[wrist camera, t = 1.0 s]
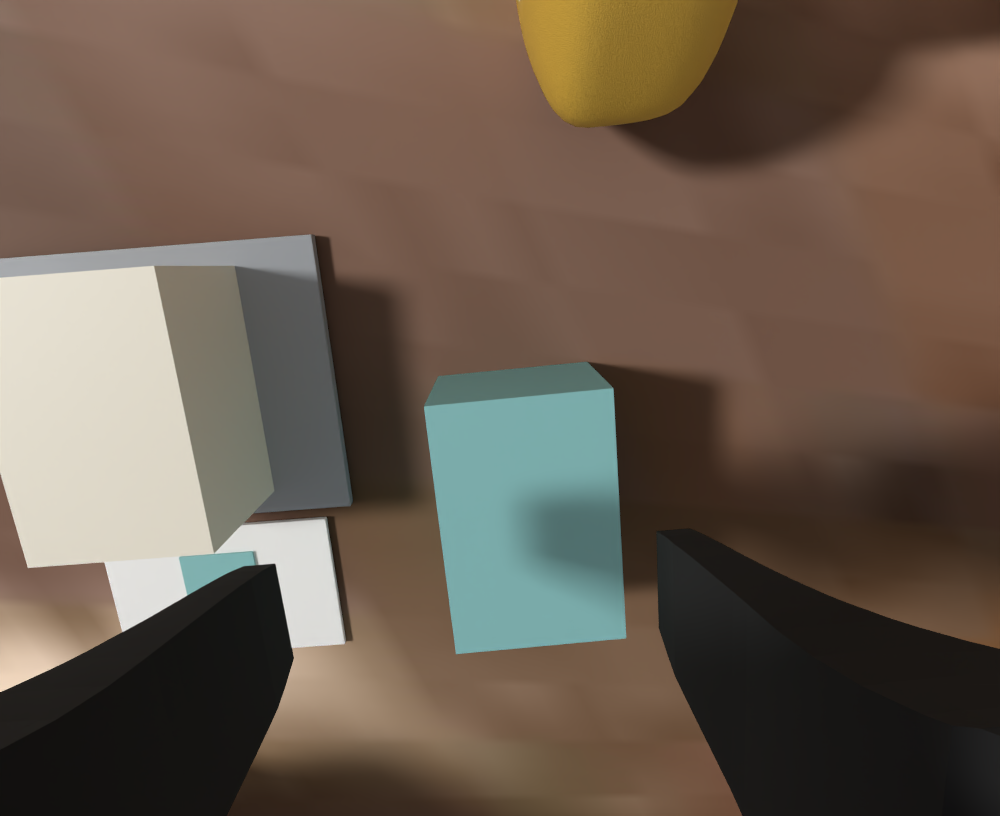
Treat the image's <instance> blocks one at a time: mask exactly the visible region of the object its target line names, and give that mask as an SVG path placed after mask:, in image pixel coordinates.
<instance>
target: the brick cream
mask: <svg viewBox="0 0 1000 816" xmlns="http://www.w3.org/2000/svg"><path fill="white" fill-rule="evenodd" d="M0 474H1V477H2V480H3V484H4V487H5V491H6V494H7V498H8V501H9V504H10V508H11V511H12V515H13V518H14V522H15V525H16V528H17V532H18V535H19V539H20V542H21V545H22V549H23V552H24V556H25V559H26V563H27V566H28V568H32V567H45V566H58V565H72V564H85V563H98V562H111V561H125V560H138V559H151V558H164V557H177V556H191V555H204V554H214V553H215V552H216V551H217V550H218V549H219V548H220V547H221V546H222V545H223V544H224V543H225V542H226V541H227V540H228V539H229V538H230V537H231V536H232V535H233V533H234V532H235V531H236V530H237V529H238V528H239V527H240V526H241V525H242V524H243V523H244V522H245V521H246V520H247V519H248V518H249V517H250V516H251V515H252V514H253V513H254V512H255V511H256V510H257V509H258V508H259V507H260V505H261V504H262V503H263V502H264V501H265V500H266V499H267V498H268V497H269V496H270V495H271V494H272V493H273V492H274V485H273V480H272V474H271V468H270V463H269V457H268V452H267V446H266V440H265V435H264V429H263V423H262V418H261V412H260V406H259V401H258V395H257V389H256V384H255V378H254V372H253V367H252V361H251V355H250V350H249V344H248V339H247V333H246V327H245V322H244V316H243V310H242V305H241V299H240V293H239V288H238V282H237V276H236V271H235V266H144V267H132V268H119V269H106V270H93V271H80V272H67V273H54V274H41V275H29V276H16V277H3V278H0Z"/></svg>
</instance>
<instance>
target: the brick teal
mask: <svg viewBox="0 0 1000 816" xmlns="http://www.w3.org/2000/svg"><path fill="white" fill-rule="evenodd" d="M424 411H425V418H426V426H427V434H428V441H429V449H430V457H431V465H432V472H433V480H434V488H435V495H436V503H437V511H438V518H439V526H440V534H441V542H442V549H443V557H444V565H445V572H446V580H447V588H448V595H449V603H450V611H451V618H452V626H453V634H454V642H455V649H456V654H462V653H472V652H483V651H494V650H505V649H515V648H526V647H537V646H548V645H559V644H569V643H580V642H591V641H602V640H612V639H623V638H626V625H625V605H624V585H623V566H622V546H621V526H620V507H619V487H618V467H617V448H616V428H615V408H614V389H613V387H612V386H611V385H610V384H609V383H608V382H607V381H606V380H605V379H604V378H603V377H602V376H601V375H600V374H599V373H598V372H597V371H596V370H595V369H594V368H593V367H592V366H591V365H590V364H589V363H588V362H580V363H570V364H559V365H549V366H539V367H528V368H518V369H508V370H497V371H487V372H477V373H466V374H456V375H446V376H438V378H437V380H436V382H435V384H434V386H433V389H432V391H431V393H430V395H429V397H428V399H427V401H426V403H425V405H424Z"/></svg>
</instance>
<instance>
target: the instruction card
mask: <svg viewBox="0 0 1000 816" xmlns="http://www.w3.org/2000/svg"><path fill="white" fill-rule="evenodd" d="M264 564H276V569H277V574H278V579H279V585H280V590H281V595H282V600H283V605H284V610H285V615H286V621H287V626H288V631H289V636H290V641H291V646H292V648H298V647H311V646H324V645H338V644H345V642H346V637H345V631H344V624H343V618H342V611H341V605H340V599H339V592H338V586H337V579H336V573H335V567H334V560H333V554H332V547H331V541H330V535H329V528H328V522H327V517H316V518H303V519H289V520H276V521H263V522H250V523H243V524H242V525H241V526H240V527H239V528H238V529H237V530H236V531H235V532H234V533H233V535H232V536H231V537H230V538H229V539H228V540H227V541H226V542H225V543H224V544H223V545H222V546H221V547H220V548H219V549H218V550H217V551H216V552H215V553H214V554H204V555H191V556H177V557H164V558H151V559H138V560H125V561H111V562H105V566H106V570H107V574H108V578H109V582H110V585H111V589H112V593H113V597H114V601H115V605H116V609H117V613H118V616H119V620H120V624H121V628H122V632H124V631H126V630H127V629H129V628H131V627H133V626H135V625H137V624H138V623H140V622H142V621H144V620H146V619H148V618H149V617H151V616H153V615H154V614H156V613H158V612H160V611H161V610H163V609H165V608H167V607H168V606H170V605H172V604H173V603H175V602H177V601H179V600H180V599H182V598H184V597H186V596H187V595H189V594H191V593H192V592H194V591H196V590H198V589H199V588H201V587H203V586H205V585H206V584H208V583H210V582H212V581H214V580H215V579H217V578H219V577H221V576H223V575H225V574H227V573H229V572H231V571H233V570H236V569H238V568H240V567H243V566H252V565H264Z"/></svg>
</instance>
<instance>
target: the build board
mask: <svg viewBox="0 0 1000 816" xmlns="http://www.w3.org/2000/svg"><path fill="white" fill-rule="evenodd" d="M144 266H235V271H236V276H237V282H238V288H239V293H240V299H241V305H242V310H243V316H244V322H245V327H246V333H247V339H248V344H249V350H250V355H251V361H252V367H253V372H254V378H255V384H256V389H257V395H258V401H259V406H260V412H261V418H262V423H263V429H264V435H265V440H266V446H267V452H268V457H269V463H270V468H271V474H272V480H273V485H274V492H273V493H272V494H271V495H270V496H269V497H268V498H267V499H266V500H265V501H264V502H263V503H262V504H261V505H260V507H259V508H258V509H257V510H256V511H255V512H254V513H263V512H276V511H289V510H303V509H316V508H329V507H342V506H351V504H352V502H353V498H352V491H351V484H350V477H349V470H348V463H347V456H346V449H345V442H344V435H343V429H342V422H341V415H340V408H339V401H338V394H337V387H336V380H335V373H334V366H333V359H332V352H331V345H330V338H329V331H328V324H327V317H326V310H325V303H324V297H323V290H322V283H321V276H320V269H319V262H318V255H317V248H316V241H315V235H299V236H286V237H273V238H261V239H248V240H235V241H222V242H209V243H196V244H184V245H171V246H158V247H145V248H132V249H119V250H106V251H94V252H81V253H68V254H55V255H42V256H29V257H16V258H4V259H0V278H3V277H16V276H29V275H41V274H54V273H67V272H80V271H93V270H106V269H119V268H132V267H144Z"/></svg>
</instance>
